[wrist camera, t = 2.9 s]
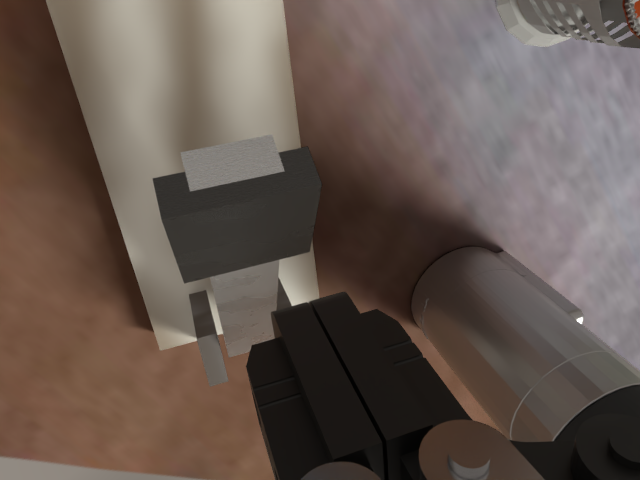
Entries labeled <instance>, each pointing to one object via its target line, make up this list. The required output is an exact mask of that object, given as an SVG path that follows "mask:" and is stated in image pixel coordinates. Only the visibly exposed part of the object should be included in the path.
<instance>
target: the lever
mask: <svg viewBox="0 0 640 480" xmlns="http://www.w3.org/2000/svg"><path fill="white" fill-rule="evenodd" d="M180 153H181V157H182V162H183V166H184V170H185V172H181V173H176V174H171V175H166V176H161V177H157V178H152V179H153V183H154V188H155V193H156V197H157V202H158V206H159V211H160V216H161V220H162V223H163V226H164V228H165V231H166V234H167V237H168V240H169V242H170V245H171V248H172V251H173V254H174V256H175V259H176V262H177V265H178V268H179V270H180V273H181V276H182V279H183V282H184V284H185V283H189V282H193V281H197V280H201V279H205V278H209V277H210V280H211V284H212V288H213V293H214V297H215V301H216V305H217V310H218V314H219V318H220V322H221V327H222V331H223V335H224V339H225V343H226V347H227V351H228V355H229V357H232V356H236V355H239V354H243V353H246V352H250V350H251V346H252V345H254V344H258V343H261V342H265V341H268V340H272V339H275V337H274V331H273V326H272V320H271V312H272V311H276V308H277V292H278V275H279V260H280V259H284V258H288V257H292V256H296V255H300V254H304V253H308V252H310V248H311V243H312V237H313V231H314V226H315V220H316V214H317V209H318V203H319V197H320V192H321V186H322V183H321V180H320V178H319V175H318V172H317V170H316V167H315V164H314V162H313V159H312V156H311V154H310V151H309V148H308V147H303V148H298V149H293V150H288V151H283V152H278V150H277V147H276V144H275V142H274V139H273V136H272V134H271V135H266V136H261V137H256V138H251V139H246V140H241V141H236V142H231V143H226V144H221V145H216V146H210V147H205V148H200V149H195V150H190V151H185V152H180Z"/></svg>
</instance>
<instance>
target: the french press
mask: <svg viewBox="0 0 640 480" xmlns="http://www.w3.org/2000/svg"><path fill="white" fill-rule="evenodd" d="M496 7H497V10H498V12H499V14H500V16H501V19H502V21H503V23H504V25H505V27H506V30H507V31H508V32H510V33H511V34H512V35H513V36H515V37H516V38H517V39H518V40H520V41H521V42H522V43H523V44H526V45H533V46H541V47H548V46H551V45H554V44H556V43H559V42H562V41H565V40H568V39H569V38H575V39H576V40H589V41H590V42H595V43H605V44H606V45H610V46H619V47H631V48H640V0H496ZM608 20H610V21H614V22H613V23H611V24H610V25H608V26H607V27H605V25H604V23H605V22H607V21H608ZM623 22H625V23H627V24H628V25H627V26H625V27H624V28H622V29H621V30H619V31H618V32H616V33H615V34H613V35H611V36H610V35H609V33H608V32H610V31H611V30H612V29H614V28H615V27H617V26H618V25H620V24H621V23H623ZM587 23H589V24H590V27H589V28H587V29H586V28H585V27H584V26H585V25H586V24H587ZM630 30H631V32H632V33H633V34H634V35H632V36H630V37H628V38H626V39H624V40H622V41H620V42H618V43H617V42H616V41H615V40H614V39H616V38H618V37H620V36H622V35H624V34H625V33H627V32H628V31H630ZM578 31H580V32H579V33H577V32H578ZM592 31H595V34H593V35H590V34H589V33H590V32H592ZM576 33H577V34H576ZM581 36H585V38H580V37H581ZM598 37H599V38H600V39H601V40H597V41H596V40H595V39H596V38H598Z"/></svg>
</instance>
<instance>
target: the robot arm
mask: <svg viewBox="0 0 640 480" xmlns="http://www.w3.org/2000/svg"><path fill="white" fill-rule="evenodd" d="M411 309H412V315H413V318H414V320H415V322H416V324H417V325H418V326H419V327H420V329H421V330H422V331H423V333H424V335H425V336H426V337H427V339H429V340H430V342H431V343H432V344H433V345H434V347H435V348H436V349H437V351H438V352H439V353H440V355H441V356H442V357H443V358H444V360H445V361H446V362H447V364H448V365H449V366H450V367H451V369H452V370H453V371H454V372H455V374H456V375H457V376H458V378H459V379H460V380H461V381H462V383H463V384H464V385H465V386H466V388H467V389H468V390H469V392H470V393H471V394H472V395H473V397H474V398H475V399H476V400H477V402H478V403H479V404H480V406H481V407H482V408H483V409H484V411H485V412H486V413H487V414H488V416H489V417H490V418H491V420H492V421H493V422H494V423H495V425H496V426H497V427H498V428H499V430H500V431H501V432H502V433H500V432H499V431H497V430H496V429H494V428H492V427H490V426H489V425H486V424H483V423H481V422H477V421H473V420H472V419H471V418H470V417H469V416H468V414H467V413H466V412H465V410H464V409H463V408H462V406H461V405H460V404H459V402H458V401H457V400H456V398H455V397H454V396H453V394H452V393H451V392H450V390H449V389H448V388H447V386H446V385H445V384H444V382H443V381H442V380H441V378H440V377H439V376H438V374H437V373H436V372H435V370H434V369H433V368H432V366H431V365H430V364H429V362H428V361H427V360H426V358H423V355H422V353H421V352H420V350H419V349H418V348H417V346H416V345H415V344H414V343H412V341H411V338H410V337H409V336H408V334H407V333H406V331H405V330H404V329H403V327H402V326H401V325H400V323H399V322H398V321H396V320H395V319H393V318H391V317H390V316H388V315H386V314H385V313H383V312H381V311H379V310H378V309H375V310H372V311H368V312H365V313H361V314H360V312H359V311H358V309H357V308H356V306H355V305H354V303H353V302H352V300H351V299H350V297H349V296H348V294H347V293H346V292H341V293H337V294H333V295H330V296H326V297H323V298H319V299H315V300H312V301H309V303H307V302H305V303H301V304H298V305H294V306H291V307H287V308H283V309H280V310H276V311H272V312H271V320H272V326H273V331H274V337H275V339H272V340H268V341H265V342H261V343H258V344H254V345H252V346H251V350H250V354H249V358H248V362H247V366H246V368H247V372H248V377H249V381H250V385H251V390H252V394H253V398H254V403H255V407H256V412H257V416H258V420H259V425H260V428H261V432H262V435H263V439H264V442H265V446H266V449H267V452H268V456H269V459H270V463H271V466H272V470H273V473H274V477H275V480H640V371H639V370H638V369H637V368H636V367H634V366H633V365H632V364H631V363H629V362H628V361H627V360H626V359H625V358H623V357H622V356H621V355H619V354H618V353H617V352H616V351H614V350H613V349H612V348H611V347H609V346H608V345H607V344H606V343H604V342H603V341H602V340H601V339H600V338H598V337H597V336H596V335H595V334H593V333H592V332H591V331H590V330H588V329H587V328H586V327H585V326H583V319H584V315H583V312H582V311H581V310H580V309H579V308H578V307H577V306H575V305H574V304H573V303H571V302H570V301H569V300H568V299H566V298H565V297H564V296H562V295H561V294H560V293H559V292H557V291H556V290H555V289H553V288H552V287H551V286H550V285H548V284H547V283H546V282H544V281H543V280H542V279H541V278H539V277H538V276H537V275H535V274H534V273H533V272H532V271H530V270H529V269H528V268H526V267H525V266H524V265H523V264H521V263H520V262H519V261H517V260H516V259H515V258H514V257H512V256H511V255H510V254H508V253H507V252H506V251H503V252H500V253H494V252H492V251H490V250H488V249H486V248H481V247H464V248H460V249H457V250H454V251H452V252H450V253H448V254H445V255H444V256H443V257H441V258H440V259H438V260H437V261H435V262H434V263H433V264H432V265H431V266H430V267H429V268H428V269H427V270H426V271H425V273H424V274H423V275H422V277H421V278H420V280H419V282H418V283H417V285H416V287H415V290H414V293H413V296H412V304H411Z"/></svg>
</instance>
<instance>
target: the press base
mask: <svg viewBox="0 0 640 480" xmlns="http://www.w3.org/2000/svg"><path fill="white" fill-rule="evenodd" d="M46 3H47V6H48V9H49V12H50V15H51V18H52V21H53V24H54V27H55V30H56V33H57V36H58V40H59V43H60V46H61V49H62V52H63V55H64V58H65V61H66V64H67V67H68V70H69V73H70V76H71V79H72V82H73V85H74V88H75V91H76V95H77V98H78V101H79V104H80V107H81V110H82V113H83V116H84V119H85V122H86V125H87V128H88V131H89V134H90V137H91V140H92V143H93V146H94V150H95V153H96V156H97V159H98V162H99V165H100V168H101V171H102V174H103V177H104V180H105V183H106V186H107V189H108V192H109V195H110V198H111V201H112V205H113V208H114V211H115V214H116V217H117V220H118V223H119V226H120V229H121V232H122V235H123V238H124V241H125V244H126V247H127V250H128V253H129V256H130V260H131V263H132V266H133V269H134V272H135V275H136V278H137V281H138V284H139V287H140V290H141V293H142V296H143V299H144V302H145V305H146V308H147V311H148V315H149V318H150V321H151V324H152V327H153V330H154V333H155V336H156V339H157V342H158V345H159V348H160V351H161V350H165V349H168V348H172V347H176V346H179V345H183V344H186V343H190V342H194V341H197V342H198V345H199V349H200V353H201V356H202V360H203V363H204V367H205V371H206V374H207V378H208V381H209V385H210V386H214V385H217V384H221V383H224V382H227V381H228V377H227V373H226V369H225V365H224V360H223V356H222V352H221V348H220V343H219V339H218V335H219V334H223V331H222V327H221V322H220V318H219V314H218V310H217V305H216V301H215V297H214V293H213V288H212V284H211V280H210V277H209V278H205V279H201V280H197V281H193V282H189V283H185V284H184V282H183V279H182V276H181V273H180V270H179V268H178V265H177V262H176V259H175V256H174V254H173V251H172V248H171V245H170V242H169V240H168V237H167V234H166V231H165V228H164V226H163V223H162V220H161V216H160V211H159V206H158V202H157V197H156V193H155V188H154V183H153V179H152V178H157V177H161V176H166V175H171V174H176V173H181V172H185V170H184V166H183V162H182V157H181V153H180V152H185V151H190V150H195V149H200V148H205V147H210V146H216V145H221V144H226V143H231V142H236V141H241V140H246V139H251V138H256V137H261V136H266V135H271V134H272V136H273V139H274V142H275V144H276V147H277V150H278V152H283V151H288V150H293V149H298V148H301V144H300V136H299V128H298V120H297V112H296V104H295V96H294V87H293V79H292V71H291V63H290V55H289V47H288V39H287V31H286V23H285V14H284V6H283V0H46ZM315 299H319V291H318V282H317V274H316V266H315V258H314V250H313V242H312V243H311V248H310V252H308V253H304V254H300V255H296V256H292V257H288V258H284V259H280V260H279V275H278V292H277V308H276V310H280V309H283V308H287V307H291V306H294V305H298V304H301V303H305V302H307V303H309V301H312V300H315Z"/></svg>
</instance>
